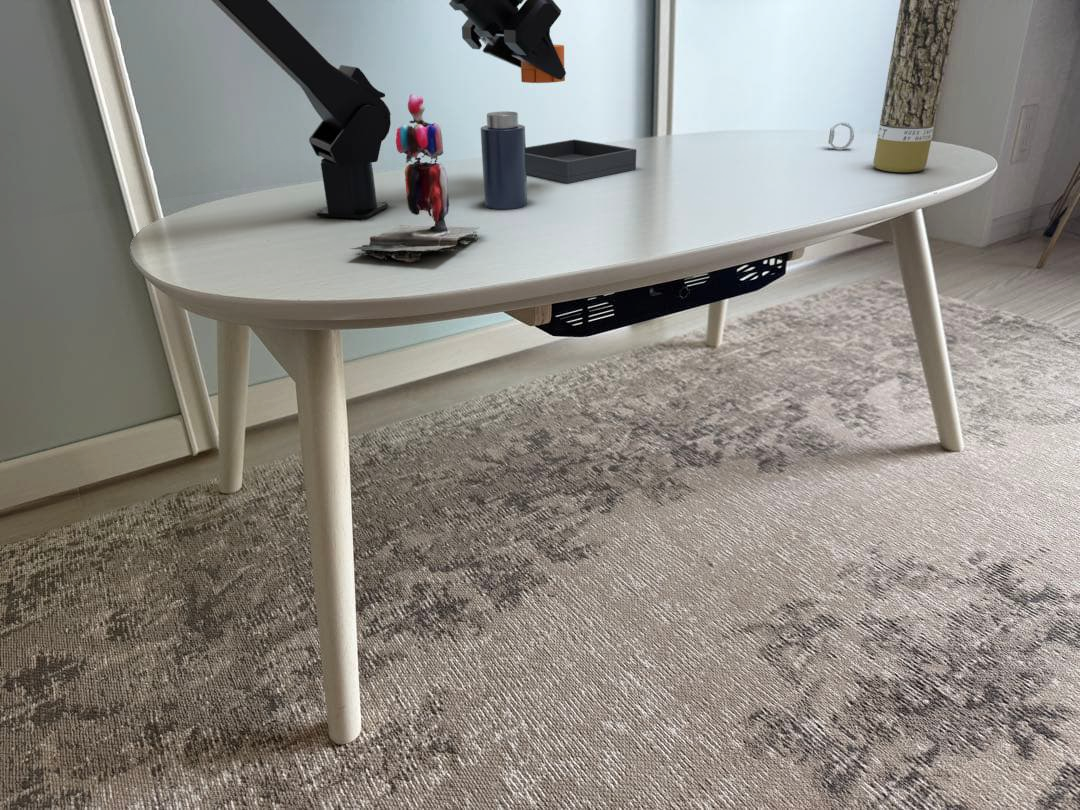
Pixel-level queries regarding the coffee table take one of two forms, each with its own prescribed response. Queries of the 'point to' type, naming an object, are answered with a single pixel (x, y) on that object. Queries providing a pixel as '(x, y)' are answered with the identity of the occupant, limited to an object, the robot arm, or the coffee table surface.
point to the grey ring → (833, 135)
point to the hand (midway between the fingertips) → (552, 75)
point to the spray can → (504, 161)
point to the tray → (578, 160)
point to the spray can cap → (538, 76)
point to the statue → (420, 195)
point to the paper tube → (914, 83)
